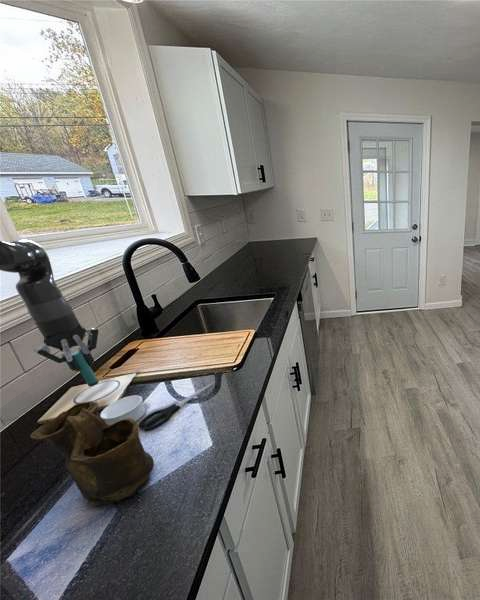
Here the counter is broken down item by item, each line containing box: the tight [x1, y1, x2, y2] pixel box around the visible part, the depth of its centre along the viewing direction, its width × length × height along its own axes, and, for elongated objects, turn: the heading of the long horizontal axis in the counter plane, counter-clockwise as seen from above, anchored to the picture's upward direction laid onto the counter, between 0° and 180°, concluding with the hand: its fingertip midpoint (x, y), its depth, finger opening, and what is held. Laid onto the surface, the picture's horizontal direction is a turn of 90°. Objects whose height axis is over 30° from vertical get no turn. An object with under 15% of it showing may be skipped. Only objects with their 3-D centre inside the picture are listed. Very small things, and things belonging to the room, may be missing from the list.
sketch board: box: [36, 372, 137, 425], centre depth 95 cm, size 18×16×1 cm
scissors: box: [138, 381, 215, 432], centre depth 89 cm, size 7×1×20 cm
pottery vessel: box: [30, 401, 155, 507], centre depth 63 cm, size 25×11×20 cm, turn 65°
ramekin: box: [99, 395, 146, 424], centre depth 85 cm, size 9×9×4 cm
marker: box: [71, 350, 100, 386], centre depth 92 cm, size 2×2×11 cm
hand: (83, 367), depth 92 cm, fingers closed on marker, 2 cm apart
